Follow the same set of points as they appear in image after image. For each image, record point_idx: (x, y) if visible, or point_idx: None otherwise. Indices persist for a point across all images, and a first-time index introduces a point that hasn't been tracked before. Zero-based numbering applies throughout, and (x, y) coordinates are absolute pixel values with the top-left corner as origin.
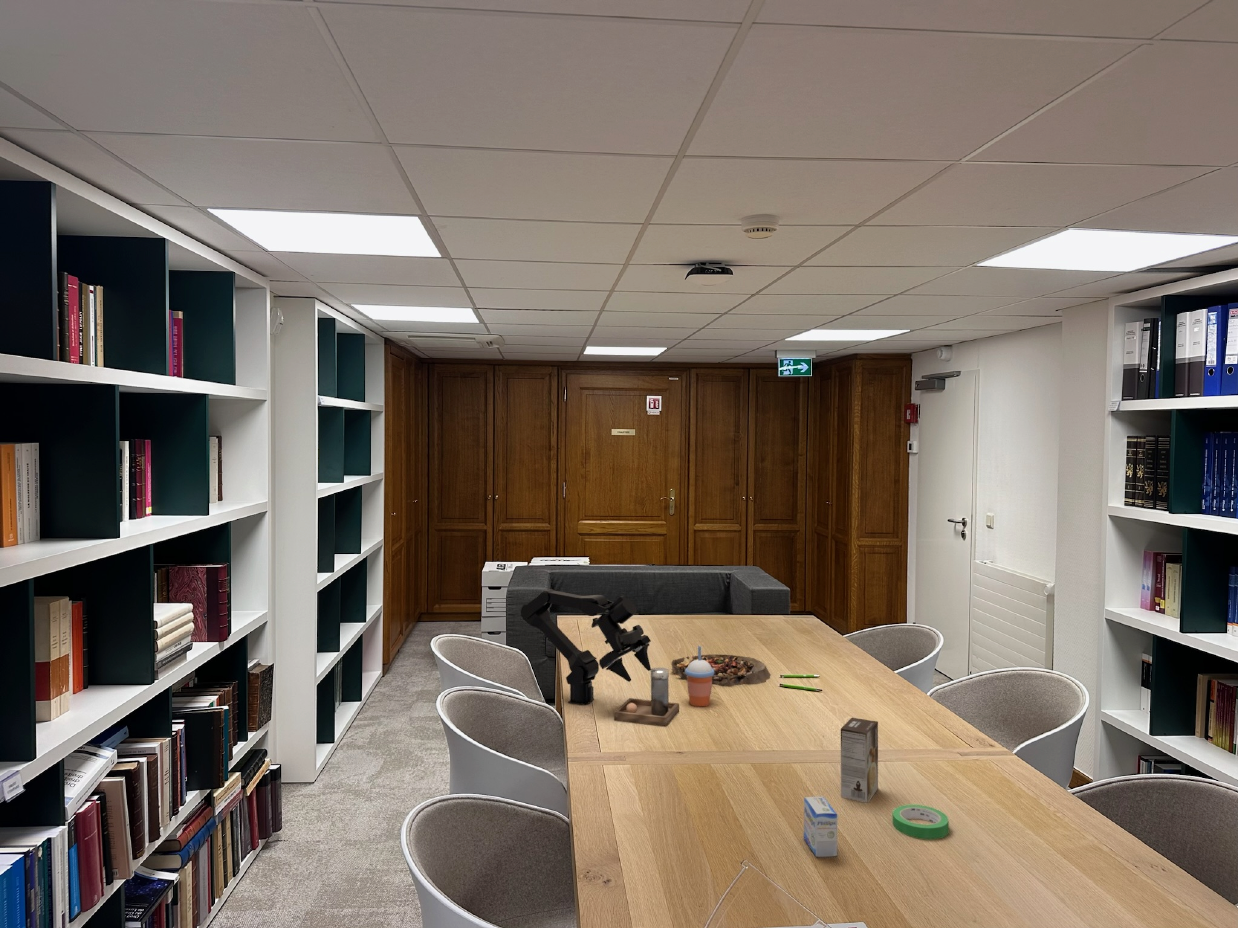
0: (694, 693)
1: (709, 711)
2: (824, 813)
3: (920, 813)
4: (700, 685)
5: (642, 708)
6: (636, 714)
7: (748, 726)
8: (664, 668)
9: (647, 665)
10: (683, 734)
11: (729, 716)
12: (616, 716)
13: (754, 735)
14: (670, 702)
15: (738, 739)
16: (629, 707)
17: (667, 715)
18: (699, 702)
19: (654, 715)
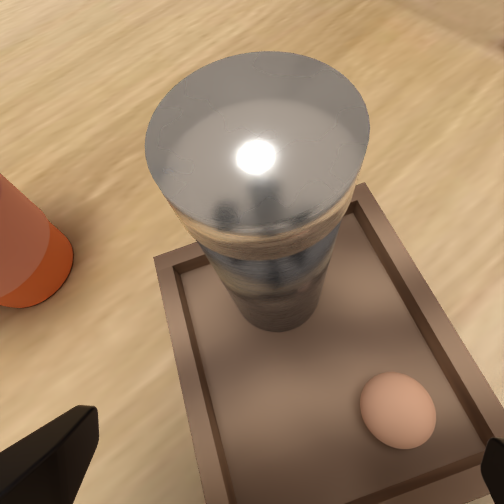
0: (40, 234)
1: (110, 190)
2: None
3: None
4: (7, 182)
5: (270, 415)
6: (446, 316)
7: (182, 53)
8: (164, 128)
9: (54, 469)
10: (375, 121)
11: (128, 123)
12: None
13: (237, 16)
14: (162, 297)
15: (291, 20)
16: (431, 403)
17: None
18: (63, 236)
19: (379, 238)
